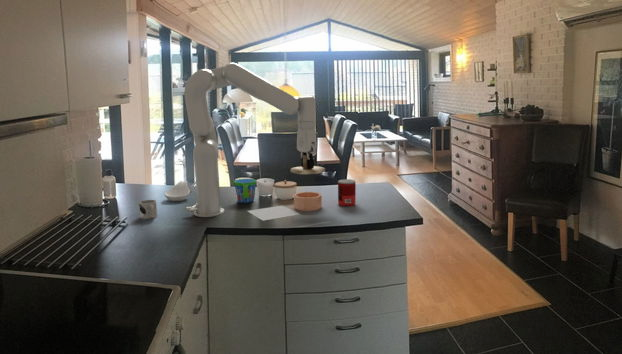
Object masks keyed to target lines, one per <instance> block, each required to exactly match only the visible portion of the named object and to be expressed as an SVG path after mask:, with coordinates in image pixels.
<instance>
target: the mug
mask: <svg viewBox="0 0 622 354" xmlns="http://www.w3.org/2000/svg"><path fill="white" fill-rule="evenodd" d="M138 206H139V217H140V219H141V220H152V219H156V218H158V210H157V201H156V199H145V200H141V201H139V202H138Z"/></svg>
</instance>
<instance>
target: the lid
mask: <svg viewBox="0 0 622 354" xmlns="http://www.w3.org/2000/svg"><path fill="white" fill-rule="evenodd" d="M307 159H308V158H307V155H303V167H302V166H301V165H300V166H296V167H291V168H290V173H292V174H294V175H295V174H297V175H317V174H322V173H325V172H326V168H325V167H322V166H319V165H317V166H316V165H314V168H311V169H307Z"/></svg>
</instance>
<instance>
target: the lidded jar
mask: <svg viewBox="0 0 622 354" xmlns="http://www.w3.org/2000/svg"><path fill="white" fill-rule="evenodd" d="M297 185H298V184H297V182H295V181H287V179H284V180H283V181H277V182H275V183H274V185H273V186H274V193H275V196H276V198H278V200H282V201H289V200H290V201H291V200H293V198H294V194H296V193H297V187H298V186H297Z"/></svg>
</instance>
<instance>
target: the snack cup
mask: <svg viewBox="0 0 622 354" xmlns="http://www.w3.org/2000/svg"><path fill="white" fill-rule="evenodd" d="M257 183H258V182H257V180H256V179H253V178H241V179H235V180H233V184H234V185H233V186H234V188H235V192H236V198H237V202H238V203H240V204H246V203H253V202H254V201H255V197H256V196H255V195H256V188H257Z"/></svg>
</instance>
